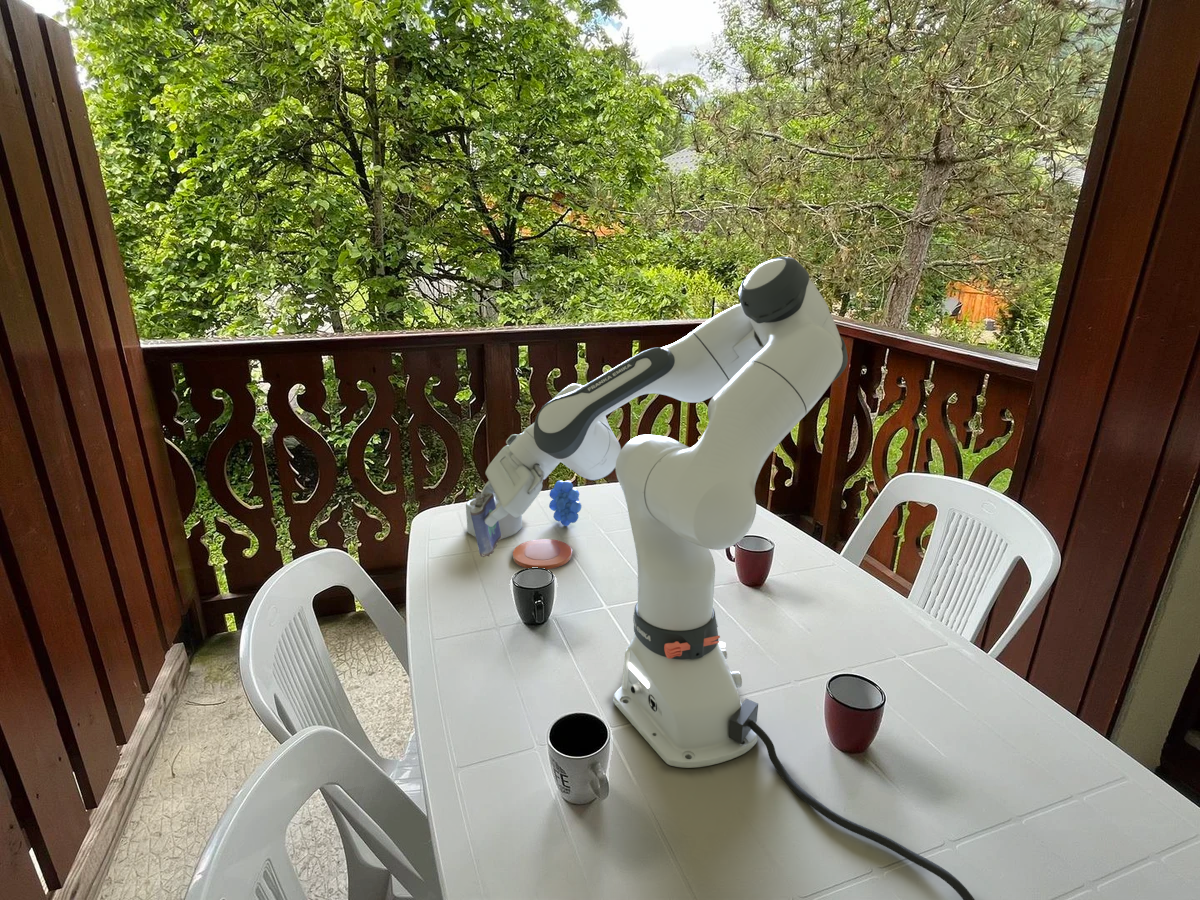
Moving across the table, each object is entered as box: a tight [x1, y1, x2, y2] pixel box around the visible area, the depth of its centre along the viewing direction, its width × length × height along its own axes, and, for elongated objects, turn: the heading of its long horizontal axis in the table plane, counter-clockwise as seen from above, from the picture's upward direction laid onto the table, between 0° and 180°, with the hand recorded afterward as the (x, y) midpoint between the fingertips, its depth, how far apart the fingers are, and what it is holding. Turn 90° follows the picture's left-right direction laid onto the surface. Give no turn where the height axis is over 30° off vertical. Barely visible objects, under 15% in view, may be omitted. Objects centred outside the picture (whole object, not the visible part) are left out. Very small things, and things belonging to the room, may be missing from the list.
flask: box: [470, 492, 502, 558], centre depth 117 cm, size 9×3×11 cm, turn 174°
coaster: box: [512, 538, 573, 570], centre depth 140 cm, size 13×13×1 cm
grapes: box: [548, 480, 582, 527], centre depth 154 cm, size 12×7×12 cm, turn 40°
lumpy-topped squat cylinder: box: [465, 492, 523, 540], centre depth 152 cm, size 10×13×9 cm
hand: (482, 513), depth 117 cm, fingers closed on flask, 8 cm apart
